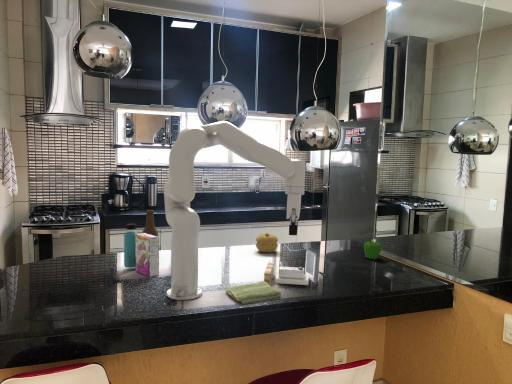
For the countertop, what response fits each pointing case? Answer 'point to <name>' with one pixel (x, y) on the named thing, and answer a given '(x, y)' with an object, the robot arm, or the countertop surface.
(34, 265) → the countertop surface
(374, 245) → the bell pepper
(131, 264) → the beverage bottle
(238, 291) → the washcloth
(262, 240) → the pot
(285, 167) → the robot arm
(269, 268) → the rail
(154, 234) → the beer bottle
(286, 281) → the bracket
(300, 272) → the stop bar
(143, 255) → the candy bar box
